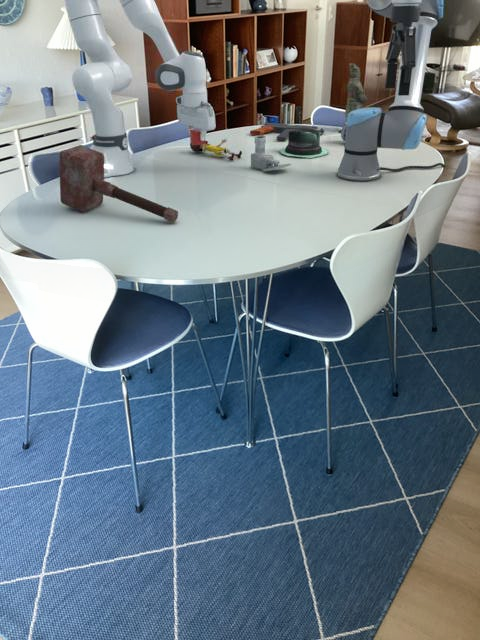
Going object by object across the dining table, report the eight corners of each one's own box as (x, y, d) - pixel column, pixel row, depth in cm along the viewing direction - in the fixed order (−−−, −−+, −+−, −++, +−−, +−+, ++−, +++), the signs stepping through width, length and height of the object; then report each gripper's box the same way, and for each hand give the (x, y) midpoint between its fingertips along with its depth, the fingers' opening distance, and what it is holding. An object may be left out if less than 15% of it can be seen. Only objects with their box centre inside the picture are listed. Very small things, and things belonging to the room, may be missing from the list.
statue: (367, 132, 266) (374, 63, 251) (349, 133, 264) (355, 64, 249) (357, 127, 275) (362, 61, 260) (339, 129, 273) (344, 62, 258)
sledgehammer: (186, 184, 163) (79, 143, 174) (168, 194, 155) (57, 150, 167) (180, 236, 173) (79, 194, 184) (163, 248, 165) (58, 203, 177)
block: (205, 144, 211) (205, 131, 208) (192, 145, 209) (191, 132, 207) (203, 141, 214) (202, 129, 211) (190, 142, 213) (189, 130, 210)
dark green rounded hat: (332, 145, 241) (326, 158, 224) (294, 164, 249) (286, 177, 233) (317, 113, 235) (310, 124, 219) (279, 133, 244) (269, 145, 228)
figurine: (227, 151, 220) (181, 135, 232) (225, 170, 224) (181, 153, 236) (247, 145, 228) (203, 130, 241) (246, 163, 233) (202, 147, 245)
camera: (261, 133, 214) (291, 139, 206) (260, 163, 220) (290, 170, 212) (246, 137, 209) (277, 143, 200) (246, 168, 215) (276, 176, 206)
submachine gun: (243, 132, 260) (267, 122, 278) (243, 138, 261) (267, 127, 280) (305, 138, 246) (326, 127, 265) (305, 144, 248) (326, 133, 266)
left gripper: (219, 102, 198) (220, 142, 205) (187, 96, 212) (189, 133, 219) (204, 105, 195) (206, 145, 202) (173, 98, 209) (175, 135, 216)
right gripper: (436, 5, 135) (423, 98, 146) (406, 4, 157) (397, 85, 167) (405, 6, 135) (395, 99, 146) (380, 4, 157) (372, 85, 167)
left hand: (197, 138), depth 211 cm, fingers closed on block, 5 cm apart
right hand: (396, 91), depth 157 cm, fingers open, 13 cm apart
